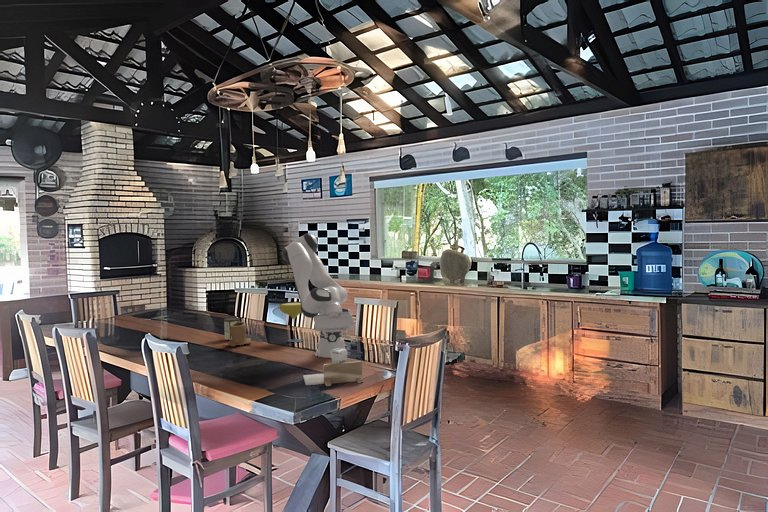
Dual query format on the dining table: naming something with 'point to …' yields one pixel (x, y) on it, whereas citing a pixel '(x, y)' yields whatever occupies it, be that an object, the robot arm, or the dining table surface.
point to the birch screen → (342, 372)
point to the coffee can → (227, 325)
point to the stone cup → (238, 334)
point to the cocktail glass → (291, 313)
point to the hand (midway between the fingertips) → (335, 336)
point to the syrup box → (338, 355)
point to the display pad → (314, 379)
